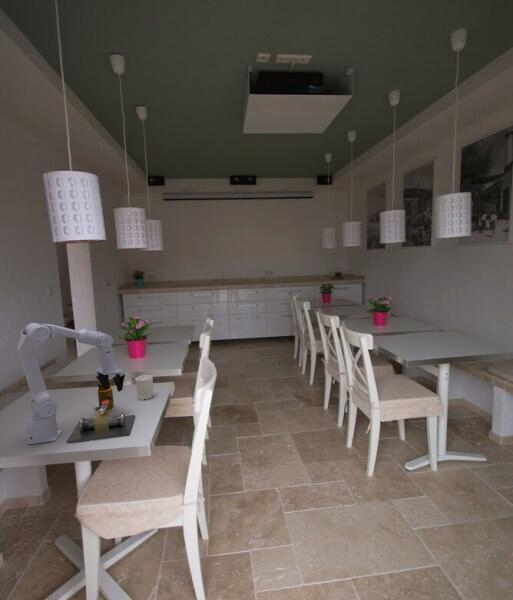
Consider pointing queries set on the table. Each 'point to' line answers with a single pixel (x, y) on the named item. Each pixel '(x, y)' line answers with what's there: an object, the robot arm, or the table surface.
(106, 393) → the condiment
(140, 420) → the table surface
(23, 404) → the table surface
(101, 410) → the valve lever
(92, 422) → the valve body
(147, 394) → the white cup
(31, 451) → the table surface
